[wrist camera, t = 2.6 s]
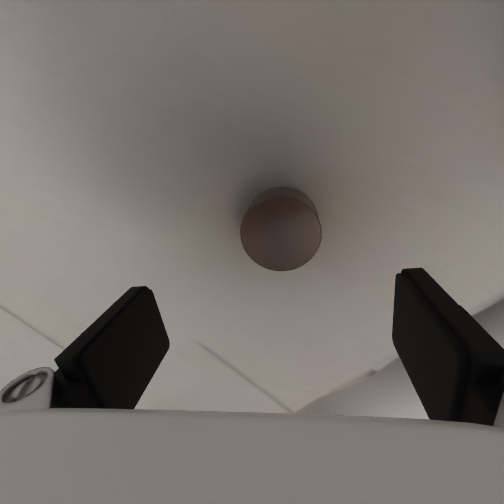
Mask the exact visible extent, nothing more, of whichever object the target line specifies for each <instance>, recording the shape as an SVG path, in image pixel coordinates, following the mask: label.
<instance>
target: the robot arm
mask: <svg viewBox="0 0 504 504" xmlns="http://www.w3.org/2000/svg"><path fill="white" fill-rule="evenodd" d="M392 339H393V343H394V346H395V348H396V350H397V353H398V355H399V357H400V359H401V361H402V363H403V365H404V367H405V369H406V371H407V373H408V375H409V377H410V379H411V382H412V384H413V386H414V388H415V390H416V392H417V394H418V396H419V398H420V400H421V402H422V404H423V406H424V409H425V411H426V412H427V415H428V417H429V419H430V420H429V419H410V418H389V417H370V416H369V417H368V416H344V415H315V414H314V415H313V414H286V413H255V412H221V411H185V410H144V409H134V408H135V406H136V404H137V403H138V401H139V399H140V398H141V396H142V394H143V392H144V391H145V389H146V387H147V386H148V384H149V382H150V380H151V379H152V377H153V375H154V373H155V372H156V370H157V368H158V367H159V365H160V363H161V361H162V360H163V358H164V356H165V354H166V353H167V351H168V349H169V338H168V336H167V333H166V330H165V327H164V324H163V321H162V318H161V315H160V312H159V309H158V306H157V303H156V300H155V297H154V294H153V292H152V290H150V289H149V288H148V287H146V286H140V287H131V288H130V289H129V290H128V291H127V292H126V293H124V294H123V295H122V296H121V297H120V298H119V299H118V300H117V301H116V302H115V303H114V304H113V305H112V306H111V307H110V308H109V309H107V310H106V311H105V312H104V313H103V314H102V315H101V316H100V317H99V318H98V319H97V320H96V321H95V322H94V323H93V324H92V325H90V326H89V327H88V328H87V329H86V330H85V331H84V332H83V333H82V334H81V335H80V336H79V337H78V338H77V339H76V340H75V341H73V342H72V343H71V344H70V345H69V346H68V347H67V348H66V349H65V350H64V351H63V352H62V353H61V354H60V355H59V356H57V357H56V358H55V359H54V360H55V362H56V364H57V366H58V367H59V369H58V370H57V371H56V372H54V371H53V369H51V368H50V367H41V368H36V369H34V370H31V371H28V372H26V373H24V374H22V375H20V376H19V377H17V378H16V379H14V380H13V381H11V382H10V383H9V384H7V385H6V386H5V387H4V388H3V389H2V390H1V391H0V504H504V349H503V348H502V347H501V346H500V345H499V344H498V343H497V342H496V341H495V340H494V339H493V338H492V337H491V336H490V335H489V334H488V333H487V332H486V331H485V330H484V329H483V328H482V326H480V324H478V322H476V320H475V319H474V318H473V317H472V316H471V315H470V314H469V313H468V312H467V311H466V310H465V309H464V308H463V307H461V306H460V305H458V304H457V303H456V302H455V301H454V300H453V299H452V298H451V297H450V296H449V295H448V294H447V293H446V292H445V291H444V290H443V289H442V288H441V286H440V285H439V284H438V283H437V282H436V281H435V280H434V279H433V278H432V277H431V276H430V275H429V274H428V273H427V272H426V271H425V270H424V269H423V268H410V269H403V270H402V271H401V273H397V274H396V280H395V296H394V313H393V330H392Z"/></svg>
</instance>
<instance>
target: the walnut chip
mask: <svg viewBox="0 0 504 504" xmlns="http://www.w3.org/2000/svg"><path fill="white" fill-rule="evenodd" d="M321 233H322V231H321V225H320V221H319V218H318V214H317V211H316V208H315V206H314V204H313V203H312V201H311V200H310V199H309V198H308V197H307V196H306V195H304V194H303V193H302V192H300V191H298V190H295V189H292V188H286V187H278V188H273V189H270V190H267V191H265V192H263V193H262V194H260V195H259V196H258V197H257V198H256V199H255V200H254V201H253V202H252V204H251V205H250V207H249V209H248V211H247V212H246V214H245V216H244V218H243V221H242V224H241V229H240V235H241V241H242V245H243V247H244V249H245V251H246V253H247V254H248V255H249V257H250V258H251V259H252V260H253V261H255V262H256V263H257V264H259V265H260V266H262V267H264V268H267V269H270V270H275V271H287V270H292V269H296V268H298V267H300V266H302V265H304V264H305V263H307V262H308V261H309V260H310V259H311V258H312V257H313V256H314V255H315V253H316V252H317V250H318V248H319V245H320V242H321Z"/></svg>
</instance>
